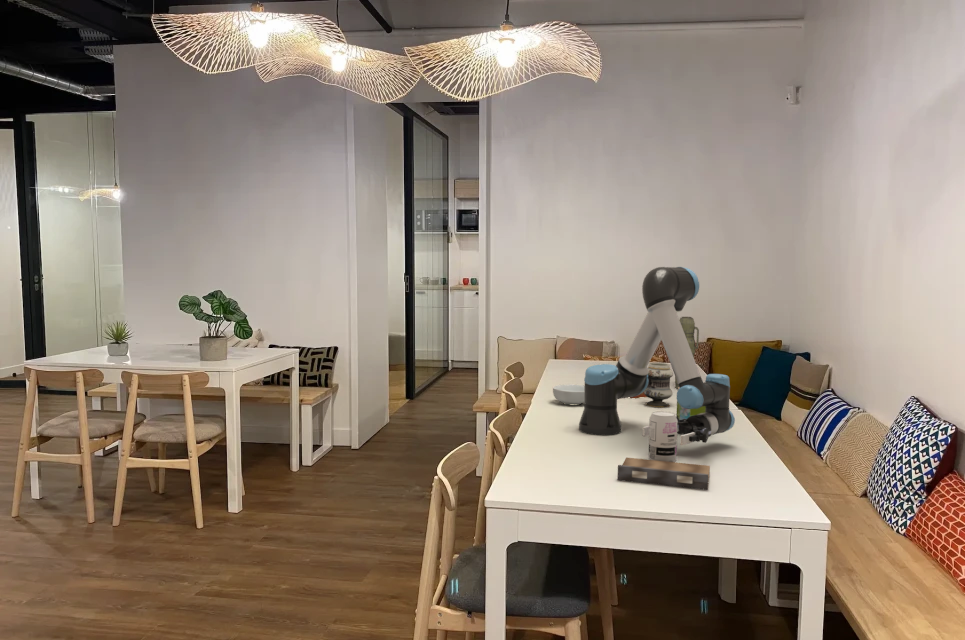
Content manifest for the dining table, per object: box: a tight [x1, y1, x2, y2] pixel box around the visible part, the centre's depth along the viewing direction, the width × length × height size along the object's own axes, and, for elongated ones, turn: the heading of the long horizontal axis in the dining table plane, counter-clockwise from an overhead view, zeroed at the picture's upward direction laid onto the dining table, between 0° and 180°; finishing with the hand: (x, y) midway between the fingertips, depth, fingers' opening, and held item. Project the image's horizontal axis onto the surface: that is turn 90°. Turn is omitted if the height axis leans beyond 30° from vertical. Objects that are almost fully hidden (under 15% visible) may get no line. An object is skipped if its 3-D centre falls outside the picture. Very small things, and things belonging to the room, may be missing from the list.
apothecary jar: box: [644, 362, 674, 409], centre depth 302 cm, size 12×12×18 cm
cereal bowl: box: [552, 383, 585, 405], centre depth 304 cm, size 17×17×7 cm
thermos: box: [674, 316, 700, 390], centre depth 343 cm, size 9×12×35 cm
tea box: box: [675, 387, 705, 431], centre depth 257 cm, size 15×10×15 cm
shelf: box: [617, 457, 711, 491], centre depth 201 cm, size 24×17×4 cm
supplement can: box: [647, 410, 678, 462], centre depth 215 cm, size 8×8×15 cm
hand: (662, 435), depth 214 cm, fingers open, 13 cm apart
